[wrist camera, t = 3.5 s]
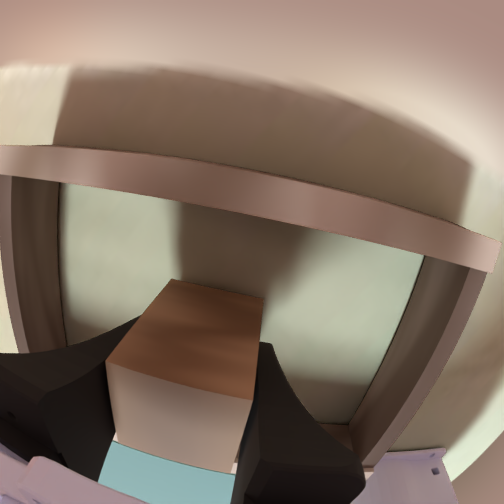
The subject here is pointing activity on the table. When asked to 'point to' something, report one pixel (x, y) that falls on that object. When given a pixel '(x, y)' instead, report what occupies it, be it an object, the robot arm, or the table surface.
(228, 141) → the table surface
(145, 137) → the table surface
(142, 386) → the walnut block
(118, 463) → the mat
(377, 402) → the frame
